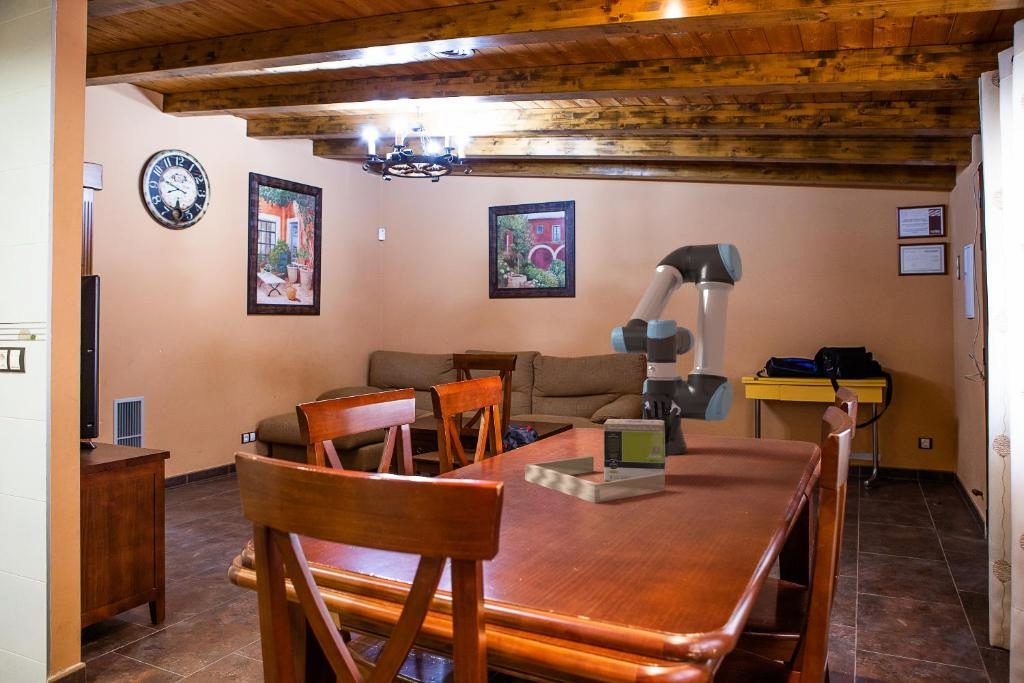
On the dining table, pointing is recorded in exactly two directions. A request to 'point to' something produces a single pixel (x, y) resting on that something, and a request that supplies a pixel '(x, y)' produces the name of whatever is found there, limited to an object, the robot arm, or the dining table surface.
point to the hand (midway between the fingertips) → (660, 468)
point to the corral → (560, 480)
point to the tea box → (633, 448)
